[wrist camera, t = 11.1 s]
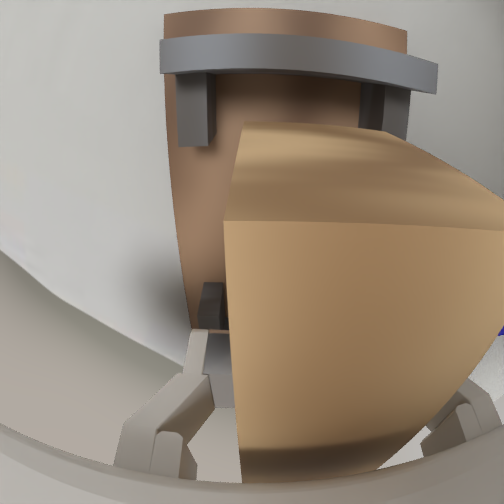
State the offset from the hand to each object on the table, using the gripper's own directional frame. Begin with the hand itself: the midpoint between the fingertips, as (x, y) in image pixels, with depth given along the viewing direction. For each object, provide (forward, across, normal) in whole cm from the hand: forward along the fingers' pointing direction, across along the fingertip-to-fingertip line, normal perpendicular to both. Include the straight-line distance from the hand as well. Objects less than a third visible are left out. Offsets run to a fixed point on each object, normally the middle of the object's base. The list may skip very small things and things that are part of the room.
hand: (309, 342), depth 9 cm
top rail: (+2, 0, 0) cm, 2 cm away
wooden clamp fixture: (+10, 0, 0) cm, 10 cm away
